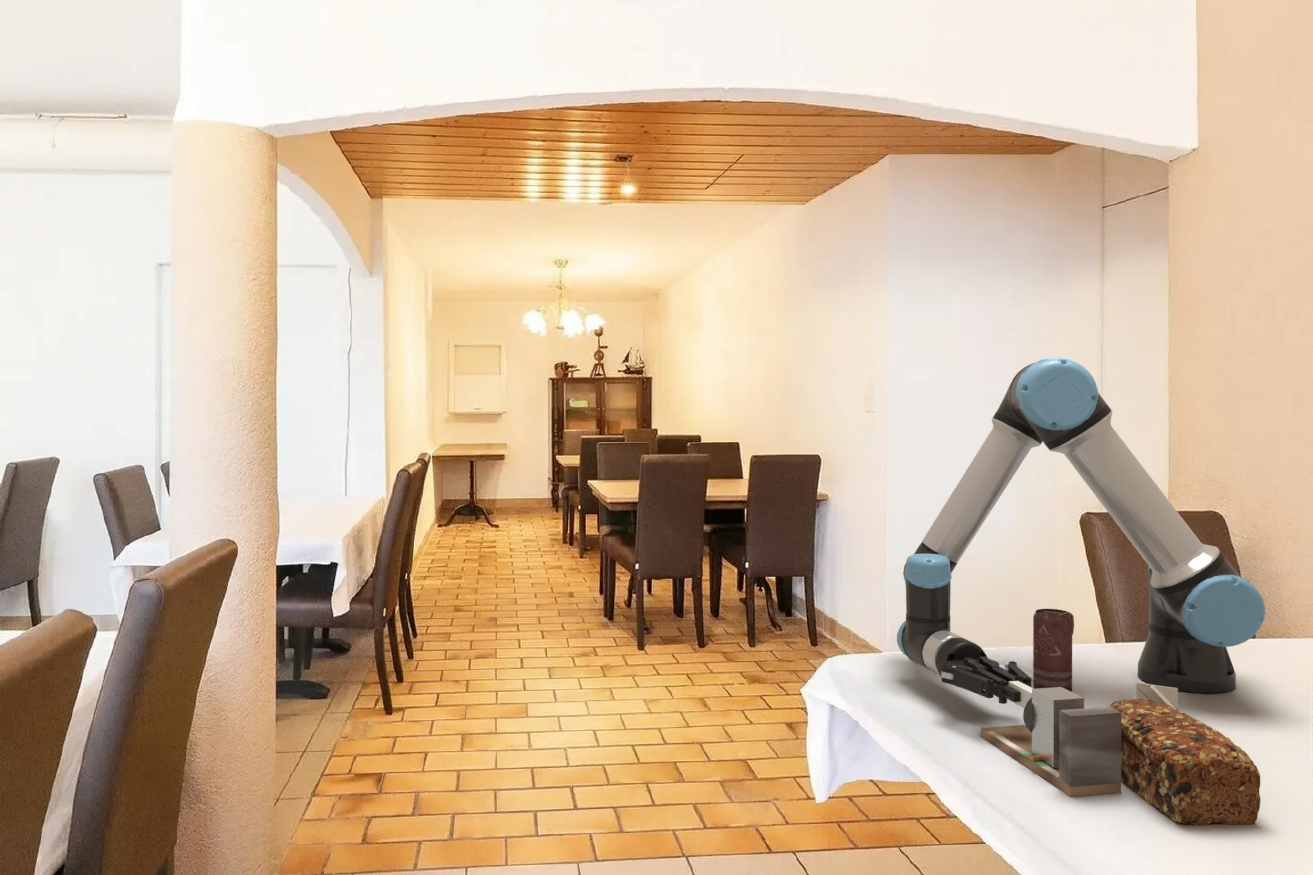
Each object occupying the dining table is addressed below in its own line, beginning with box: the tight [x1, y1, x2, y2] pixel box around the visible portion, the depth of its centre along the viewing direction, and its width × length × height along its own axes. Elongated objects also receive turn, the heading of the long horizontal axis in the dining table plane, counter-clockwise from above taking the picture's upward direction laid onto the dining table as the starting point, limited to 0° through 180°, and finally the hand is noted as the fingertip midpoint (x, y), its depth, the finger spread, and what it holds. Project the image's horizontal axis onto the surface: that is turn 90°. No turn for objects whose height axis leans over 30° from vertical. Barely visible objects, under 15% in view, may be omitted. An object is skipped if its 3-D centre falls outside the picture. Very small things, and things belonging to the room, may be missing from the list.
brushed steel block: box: [1022, 687, 1085, 768], centre depth 124 cm, size 6×7×9 cm
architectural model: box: [1135, 682, 1179, 710], centre depth 137 cm, size 3×7×7 cm, turn 55°
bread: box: [1107, 698, 1262, 827], centre depth 116 cm, size 19×11×10 cm, turn 0°
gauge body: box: [979, 706, 1122, 798], centre depth 126 cm, size 22×7×10 cm, turn 10°
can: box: [1032, 608, 1075, 692], centre depth 157 cm, size 6×6×14 cm
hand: (1039, 703), depth 128 cm, fingers closed
